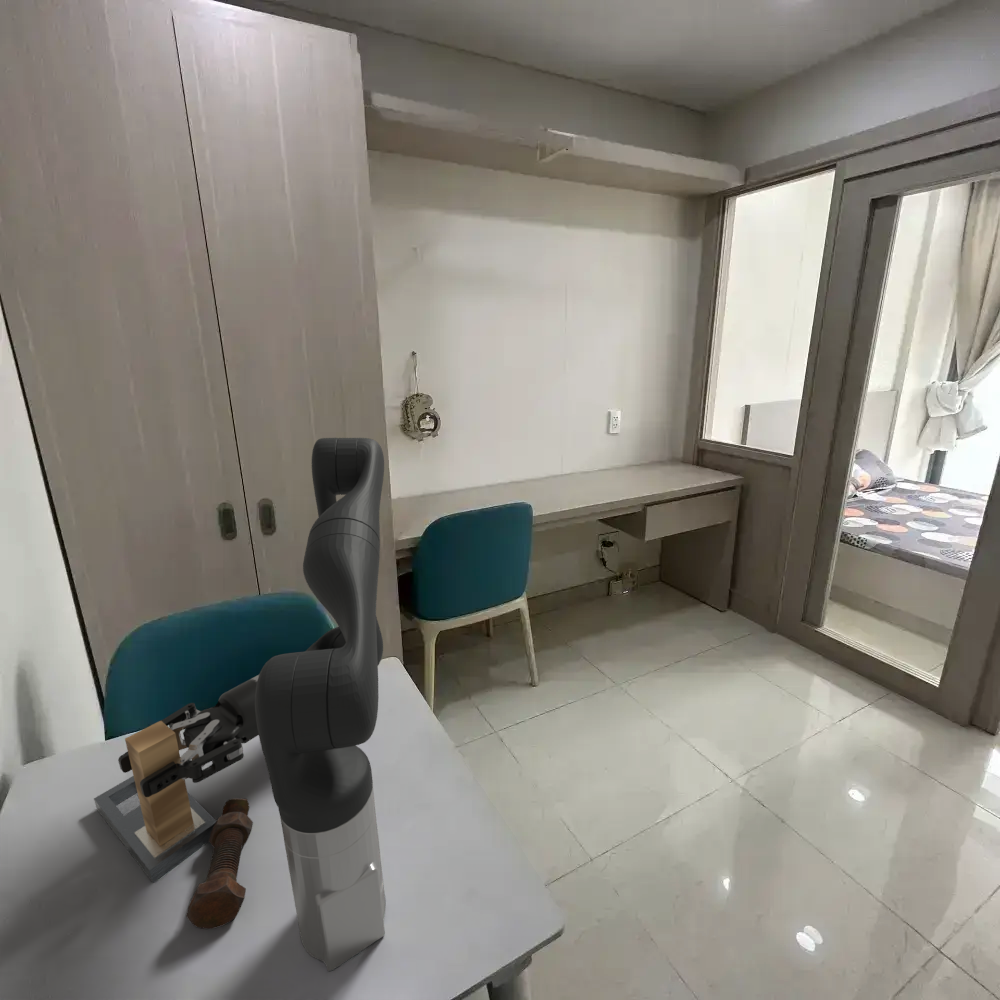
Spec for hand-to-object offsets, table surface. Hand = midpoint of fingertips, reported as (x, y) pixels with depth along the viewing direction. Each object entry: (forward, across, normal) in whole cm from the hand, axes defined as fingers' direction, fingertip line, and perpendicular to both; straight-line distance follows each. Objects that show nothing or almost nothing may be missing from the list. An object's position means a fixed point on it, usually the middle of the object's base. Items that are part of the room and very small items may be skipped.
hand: (131, 777), depth 62 cm
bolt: (-5, +10, +13) cm, 17 cm away
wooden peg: (-2, 0, +10) cm, 10 cm away
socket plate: (-2, -5, +12) cm, 13 cm away
